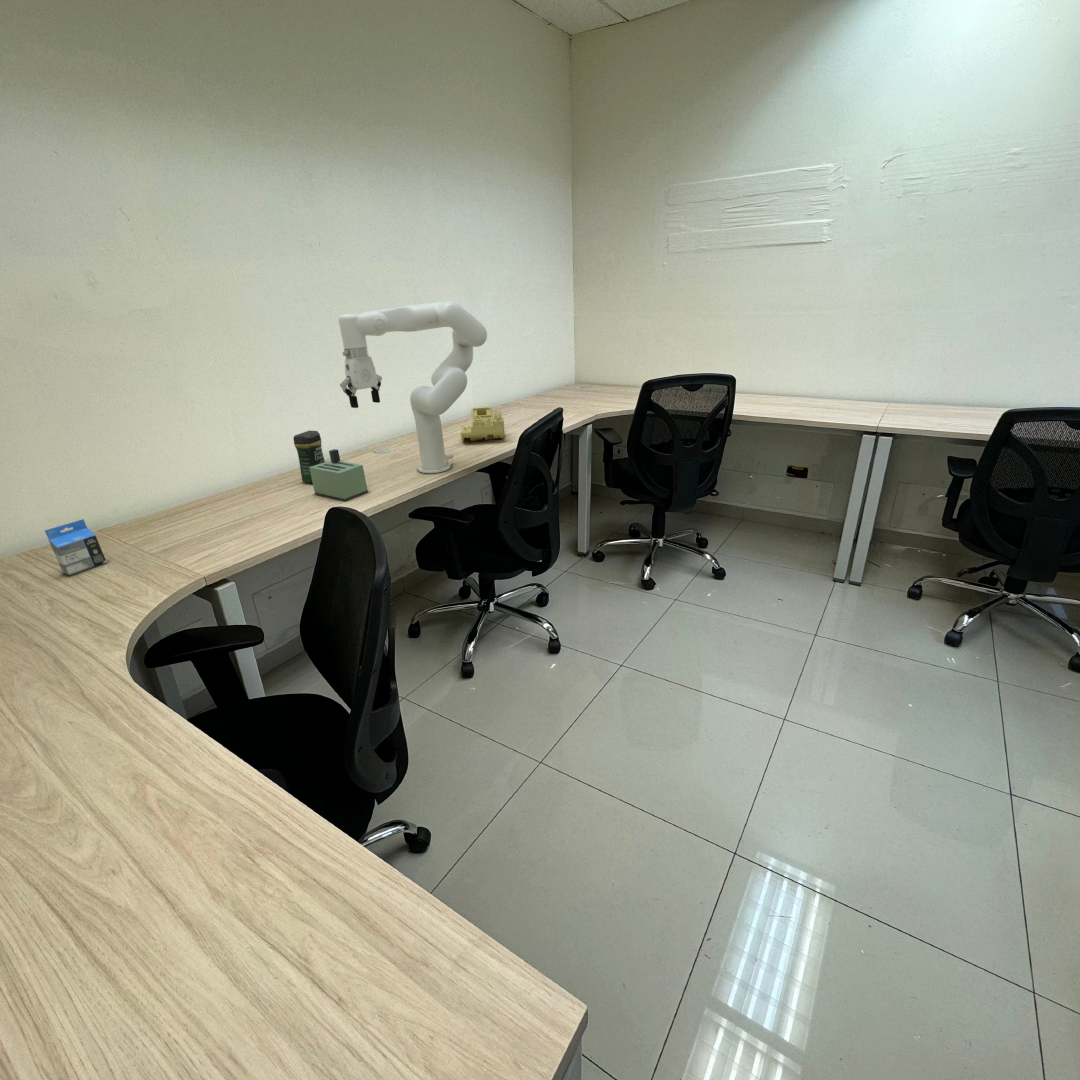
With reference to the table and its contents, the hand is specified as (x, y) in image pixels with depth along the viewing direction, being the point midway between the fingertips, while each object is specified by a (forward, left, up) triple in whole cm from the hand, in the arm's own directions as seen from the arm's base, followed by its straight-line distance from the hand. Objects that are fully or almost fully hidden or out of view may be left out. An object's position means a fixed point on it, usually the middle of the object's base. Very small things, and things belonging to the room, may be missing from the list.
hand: (365, 404), depth 192 cm
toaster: (+15, -3, -28) cm, 32 cm away
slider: (+12, -7, -18) cm, 23 cm away
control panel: (-67, -4, -28) cm, 73 cm away
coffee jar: (+9, -25, -28) cm, 39 cm away
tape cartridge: (+87, -19, -28) cm, 94 cm away
